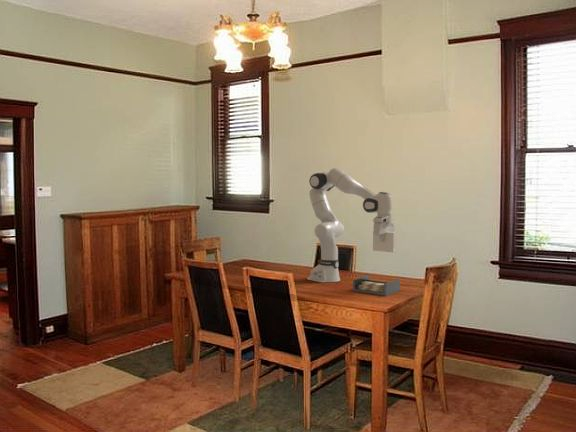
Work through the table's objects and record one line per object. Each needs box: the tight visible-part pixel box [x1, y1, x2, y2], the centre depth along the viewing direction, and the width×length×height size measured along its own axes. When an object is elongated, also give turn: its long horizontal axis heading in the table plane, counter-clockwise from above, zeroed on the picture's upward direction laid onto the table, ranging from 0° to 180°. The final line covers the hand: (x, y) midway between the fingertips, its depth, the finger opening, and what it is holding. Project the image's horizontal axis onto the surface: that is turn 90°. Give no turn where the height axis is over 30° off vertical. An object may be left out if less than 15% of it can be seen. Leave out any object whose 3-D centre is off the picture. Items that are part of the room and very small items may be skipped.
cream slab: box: [372, 230, 397, 253], centre depth 331 cm, size 14×3×12 cm, turn 52°
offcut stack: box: [359, 281, 384, 292], centre depth 321 cm, size 16×6×4 cm, turn 52°
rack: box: [352, 274, 401, 297], centre depth 324 cm, size 22×18×7 cm
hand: (384, 241), depth 331 cm, fingers closed on cream slab, 3 cm apart
